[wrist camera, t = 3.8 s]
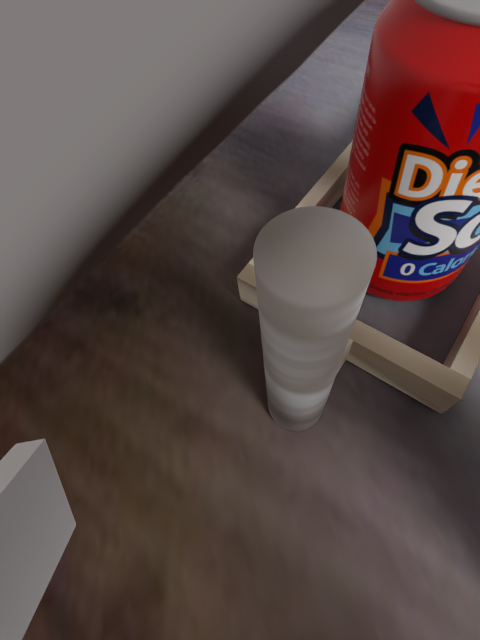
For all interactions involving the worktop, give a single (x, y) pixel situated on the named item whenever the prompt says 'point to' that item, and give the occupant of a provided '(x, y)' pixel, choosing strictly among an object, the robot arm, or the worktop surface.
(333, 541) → the worktop surface
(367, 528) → the worktop surface
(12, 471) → the robot arm
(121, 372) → the worktop surface
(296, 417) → the birch pull frame
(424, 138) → the soda can
